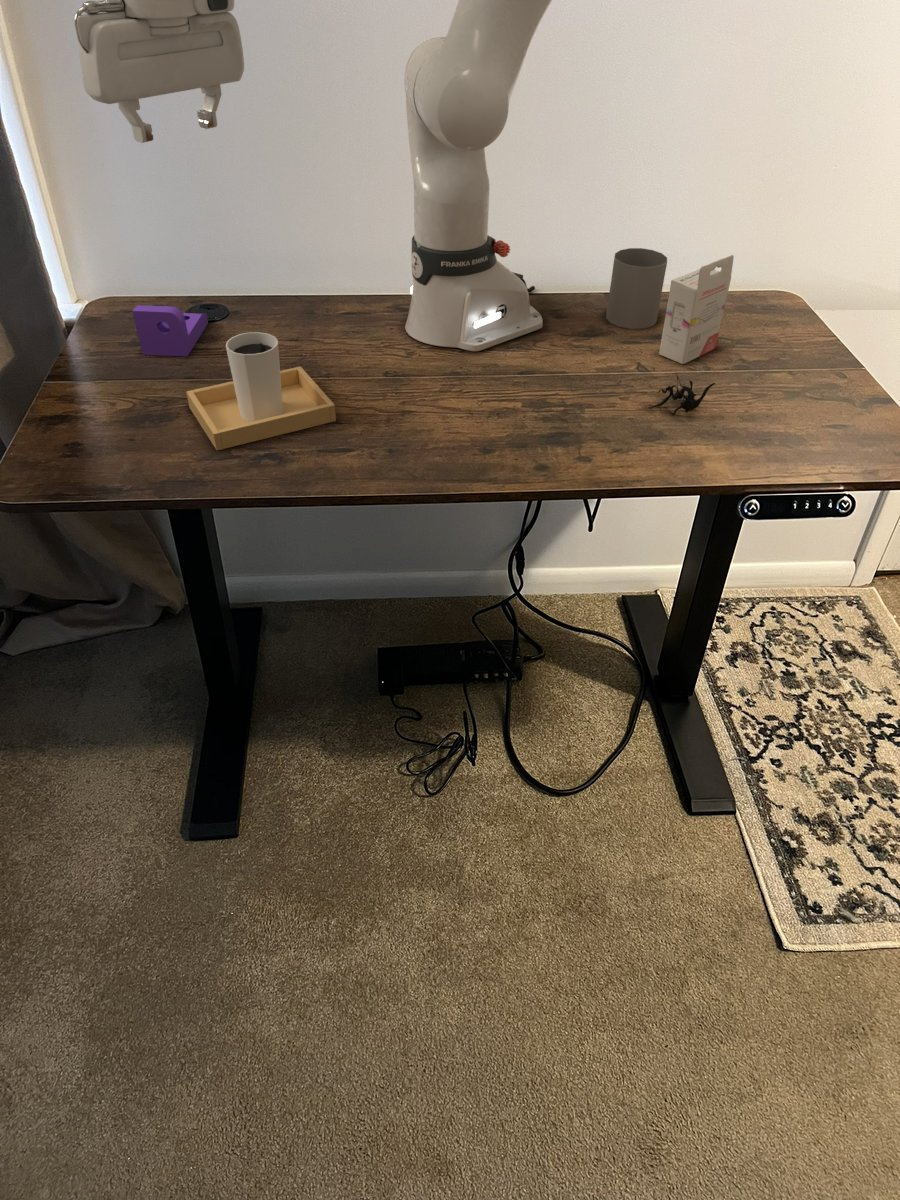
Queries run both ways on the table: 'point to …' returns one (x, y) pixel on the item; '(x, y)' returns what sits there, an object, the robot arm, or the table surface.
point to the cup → (636, 288)
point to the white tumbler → (256, 375)
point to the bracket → (167, 330)
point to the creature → (689, 401)
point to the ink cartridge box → (695, 311)
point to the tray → (230, 429)
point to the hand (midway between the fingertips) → (177, 134)
